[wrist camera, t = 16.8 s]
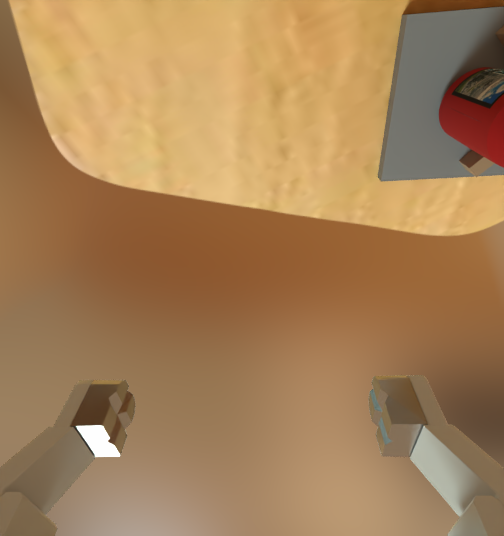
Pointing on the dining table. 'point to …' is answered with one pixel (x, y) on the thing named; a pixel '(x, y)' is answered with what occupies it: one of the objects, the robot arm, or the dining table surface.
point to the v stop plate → (436, 92)
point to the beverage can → (476, 112)
